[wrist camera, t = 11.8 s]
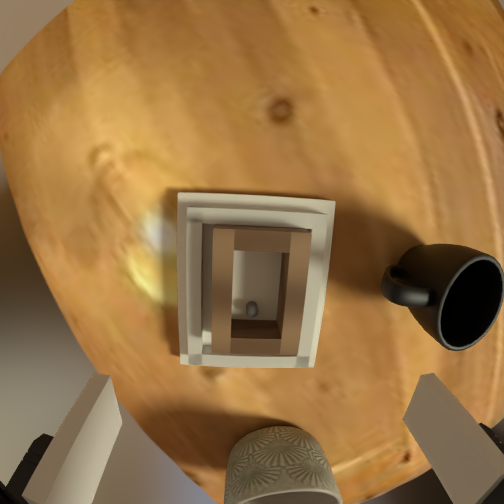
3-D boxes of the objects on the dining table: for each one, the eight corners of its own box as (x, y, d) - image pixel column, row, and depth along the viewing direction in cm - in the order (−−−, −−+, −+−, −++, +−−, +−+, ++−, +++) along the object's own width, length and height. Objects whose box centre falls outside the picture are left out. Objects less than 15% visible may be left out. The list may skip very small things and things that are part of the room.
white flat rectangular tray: (180, 192, 25) (174, 193, 23) (331, 200, 26) (341, 202, 23) (182, 357, 29) (178, 372, 26) (311, 360, 29) (317, 375, 27)
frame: (216, 222, 25) (213, 228, 21) (301, 226, 25) (311, 233, 22) (214, 333, 27) (211, 353, 24) (290, 334, 27) (297, 354, 24)
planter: (250, 481, 34) (254, 541, 24) (206, 433, 31) (200, 506, 21) (332, 454, 34) (353, 514, 23) (304, 400, 31) (326, 474, 20)
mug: (362, 215, 26) (418, 233, 17) (454, 241, 27) (515, 263, 18) (340, 299, 28) (380, 349, 19) (432, 312, 29) (483, 351, 20)
